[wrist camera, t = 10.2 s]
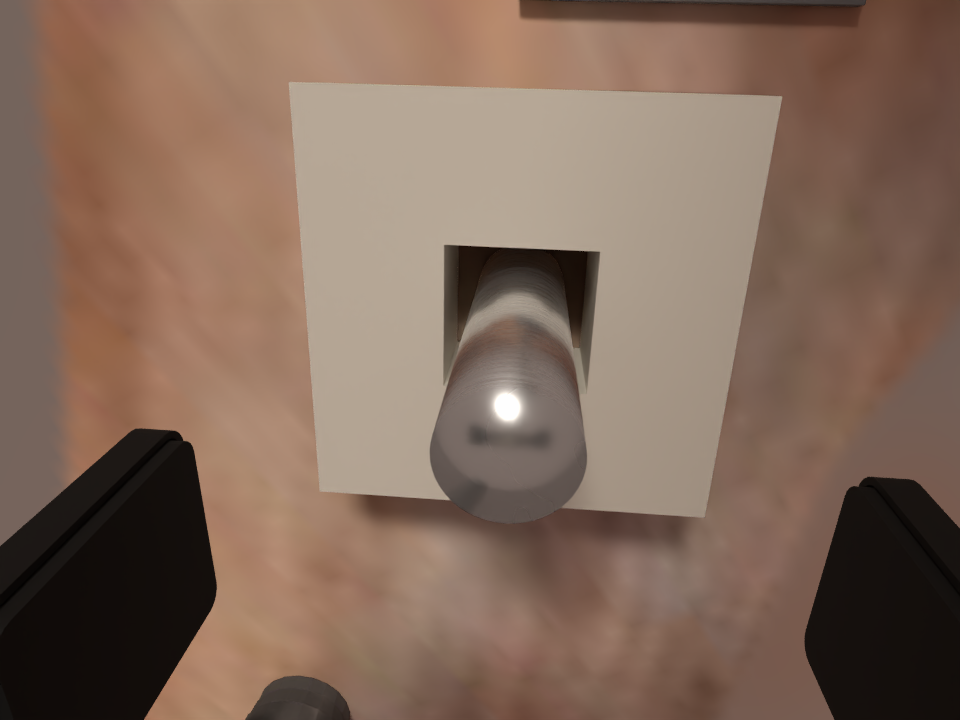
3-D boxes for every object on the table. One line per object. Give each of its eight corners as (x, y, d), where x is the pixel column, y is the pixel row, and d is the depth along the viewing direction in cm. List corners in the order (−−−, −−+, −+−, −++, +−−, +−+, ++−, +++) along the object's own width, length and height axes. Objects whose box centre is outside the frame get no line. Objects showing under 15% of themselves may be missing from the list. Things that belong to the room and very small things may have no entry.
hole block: (331, 83, 22) (288, 81, 18) (739, 94, 21) (782, 96, 17) (349, 435, 27) (319, 491, 23) (681, 456, 26) (704, 517, 22)
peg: (480, 241, 23) (429, 381, 12) (566, 245, 23) (593, 391, 12) (478, 323, 24) (430, 518, 13) (560, 327, 24) (580, 528, 13)
